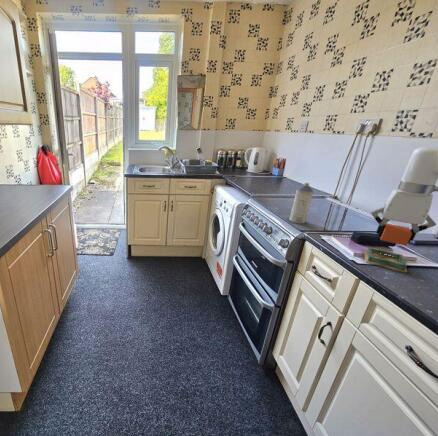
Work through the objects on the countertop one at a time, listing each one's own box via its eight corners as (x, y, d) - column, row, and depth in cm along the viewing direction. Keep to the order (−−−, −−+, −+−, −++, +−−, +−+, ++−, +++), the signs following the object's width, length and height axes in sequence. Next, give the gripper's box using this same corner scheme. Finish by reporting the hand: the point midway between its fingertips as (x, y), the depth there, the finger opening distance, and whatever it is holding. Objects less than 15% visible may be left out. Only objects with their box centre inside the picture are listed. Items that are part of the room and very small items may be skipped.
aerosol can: (307, 224, 121) (319, 184, 114) (295, 225, 120) (306, 185, 112) (297, 219, 127) (307, 181, 120) (285, 220, 126) (295, 181, 119)
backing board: (401, 261, 89) (404, 254, 88) (406, 274, 81) (409, 267, 80) (363, 252, 95) (366, 245, 94) (364, 263, 87) (367, 256, 86)
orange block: (403, 239, 85) (408, 227, 84) (406, 245, 81) (412, 233, 79) (379, 234, 89) (383, 222, 87) (380, 240, 84) (385, 228, 83)
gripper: (451, 190, 76) (425, 242, 83) (378, 181, 86) (360, 228, 92) (459, 195, 70) (431, 250, 77) (379, 185, 80) (360, 235, 87)
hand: (392, 238), depth 85 cm, fingers closed on orange block, 6 cm apart
